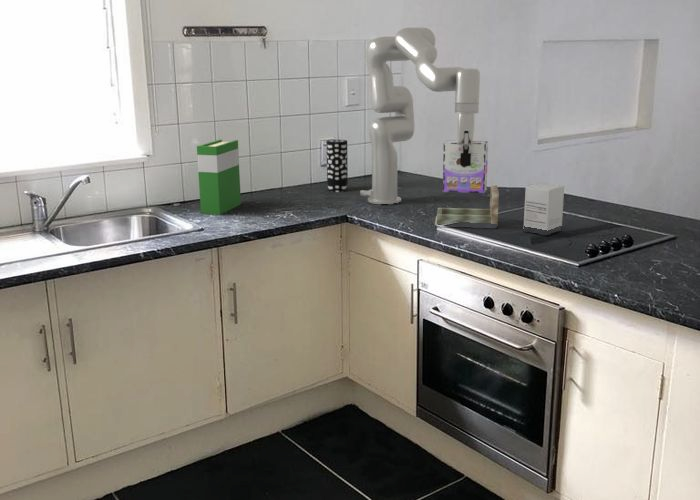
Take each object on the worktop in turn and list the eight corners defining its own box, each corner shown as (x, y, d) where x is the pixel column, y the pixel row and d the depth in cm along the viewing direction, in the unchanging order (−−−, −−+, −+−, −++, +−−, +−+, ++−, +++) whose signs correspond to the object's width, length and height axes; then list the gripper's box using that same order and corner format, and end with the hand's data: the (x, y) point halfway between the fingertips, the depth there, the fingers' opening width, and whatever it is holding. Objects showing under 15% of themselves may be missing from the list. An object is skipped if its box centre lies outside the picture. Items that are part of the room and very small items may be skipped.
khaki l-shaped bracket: (435, 227, 247) (435, 191, 243) (435, 218, 258) (436, 184, 255) (497, 229, 244) (498, 192, 241) (495, 220, 255) (496, 185, 252)
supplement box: (537, 226, 246) (540, 181, 242) (562, 231, 240) (565, 185, 236) (522, 232, 240) (524, 185, 236) (546, 237, 234) (550, 189, 230)
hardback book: (222, 203, 285) (219, 139, 278) (240, 204, 283) (237, 140, 276) (200, 213, 268) (196, 146, 262) (219, 214, 266) (216, 146, 260)
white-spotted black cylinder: (347, 192, 303) (347, 142, 298) (326, 192, 303) (326, 142, 298) (347, 188, 311) (347, 139, 306) (327, 188, 311) (326, 139, 306)
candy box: (487, 190, 248) (489, 140, 244) (484, 194, 243) (486, 142, 239) (445, 188, 253) (446, 139, 248) (442, 191, 247) (443, 141, 243)
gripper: (454, 106, 249) (453, 159, 254) (454, 110, 233) (453, 168, 238) (477, 106, 248) (476, 160, 253) (479, 110, 232) (477, 168, 237)
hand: (465, 163), depth 245 cm, fingers closed on candy box, 6 cm apart
